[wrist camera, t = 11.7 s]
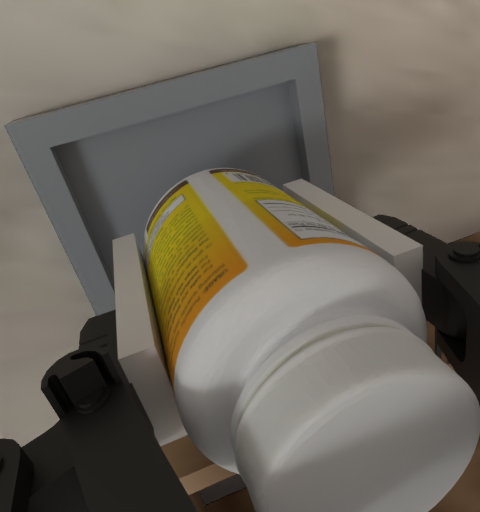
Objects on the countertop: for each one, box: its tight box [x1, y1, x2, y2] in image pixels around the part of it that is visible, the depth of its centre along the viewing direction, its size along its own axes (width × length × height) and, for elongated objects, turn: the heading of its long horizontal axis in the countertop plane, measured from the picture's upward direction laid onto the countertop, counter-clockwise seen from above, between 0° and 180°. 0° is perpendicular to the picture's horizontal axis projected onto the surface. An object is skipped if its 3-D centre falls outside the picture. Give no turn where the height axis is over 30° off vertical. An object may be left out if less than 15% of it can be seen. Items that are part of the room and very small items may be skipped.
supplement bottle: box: [143, 168, 480, 512], centre depth 11 cm, size 6×6×10 cm
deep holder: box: [154, 232, 480, 512], centre depth 22 cm, size 24×14×7 cm, turn 103°
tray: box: [5, 42, 335, 316], centre depth 17 cm, size 11×11×2 cm
